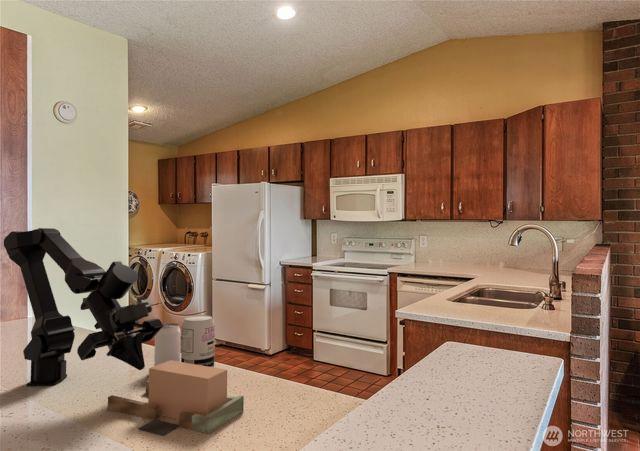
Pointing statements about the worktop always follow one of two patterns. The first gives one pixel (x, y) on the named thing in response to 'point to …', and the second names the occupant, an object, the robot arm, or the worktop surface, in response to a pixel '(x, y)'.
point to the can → (167, 344)
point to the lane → (185, 418)
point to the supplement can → (198, 340)
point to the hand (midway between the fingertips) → (142, 368)
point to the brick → (187, 388)
